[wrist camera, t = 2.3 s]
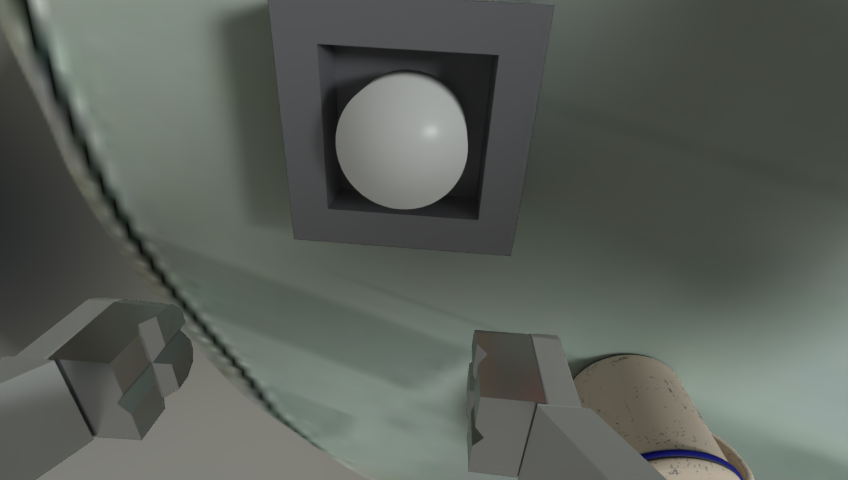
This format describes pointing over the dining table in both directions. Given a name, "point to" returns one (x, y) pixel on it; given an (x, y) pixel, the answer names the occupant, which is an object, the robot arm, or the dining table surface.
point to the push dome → (403, 140)
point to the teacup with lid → (657, 418)
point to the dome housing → (427, 52)
